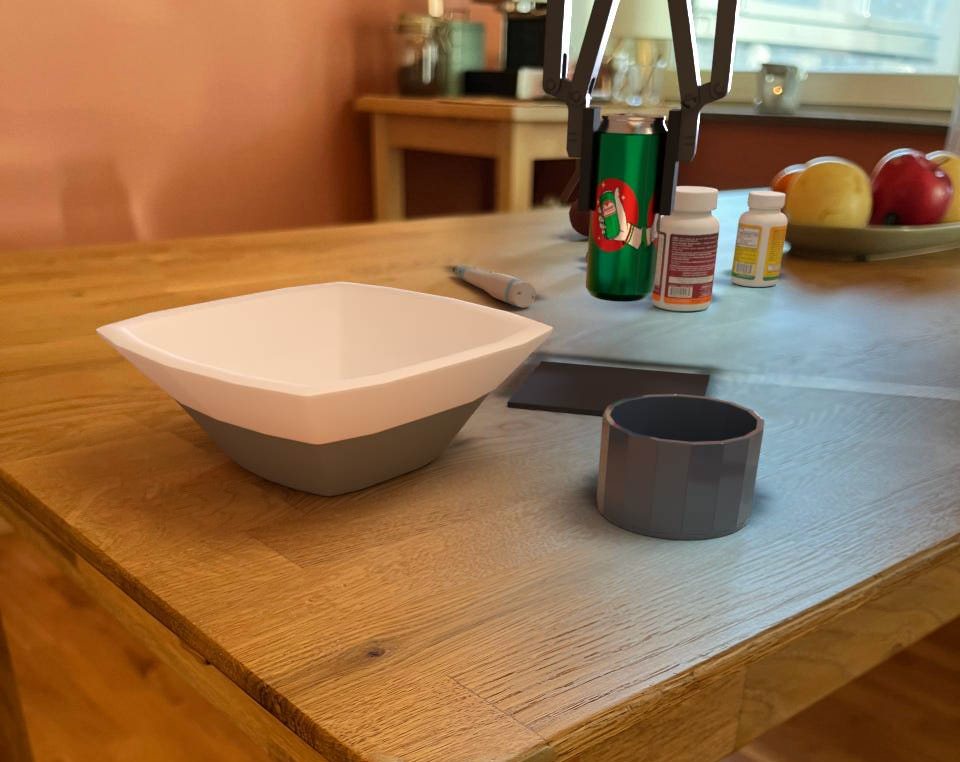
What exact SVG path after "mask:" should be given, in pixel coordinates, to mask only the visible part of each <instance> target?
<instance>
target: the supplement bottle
mask: <svg viewBox="0 0 960 762" xmlns="http://www.w3.org/2000/svg"><path fill="white" fill-rule="evenodd" d="M746 203H747V207H748V210H746V211H744V212H743V213H741V214H740V216H739V218H738V223H737V229H736V237H735V244H734V245H735V246H734V253H733V259H732V265H731V274H730V280H731V282H732V283H733V284H735V285H738V286H743V287H749V288H750V287H751V288H767V287H773V286H775V285H777V284H778V282H779V277H780V272H781V266H782V259H783V254H784V253H783V252H784V246H785V241H786V235H787V229H788V217H787V215H785V214H784V213H783V212H781V211H782V209H784V206H785V205H786V193H784V192H781V191H772V190H771V191H770V190H754V191H749V193H748V197H747V202H746Z"/></svg>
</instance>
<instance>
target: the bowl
mask: <svg viewBox="0 0 960 762" xmlns="http://www.w3.org/2000/svg"><path fill="white" fill-rule="evenodd" d="M95 331H96V334H97V336H98V337H100V338H101V339H102V340H103V341H104V342H105V343H107V345H109V346H110V347H112V348H113V349H114V350H115V352H117V353H119V354H120V355H121V356H122V357H123V358H124V359H125V360H126V361H128V362H129V363H130V364H131V365H133V366H134V367H135V368H136V369H137V370H139V372H141V373H142V374H143V375H144V376H145V377H147V378H148V379H149V380H150V381H151V382H153V384H155V385H156V386H157V387H158V388H160V390H162V391H163V392H165V394H167V395H169V396H170V397H171V398H172V399H173V400H175V402H176V403H177V404H178V405H179V406H180V407H181V408H182V410H184V411H185V412H186V414H188V415H189V417H190V418H192V420H193V421H194V422H195V423H196V424H197V425H198V426H199V427H200V428H201V429H202V431H204V432H205V433H206V435H208V437H210V439H211V440H212V441H213V442H214V443H215V444H216V445H217V446H218V447H219V448H220V449H221V450H222V451H223V452H224V453H225V455H227V457H228V458H229V459H231V460H232V461H234V462H235V463H236V464H237V465H238V466H240V467H241V468H242V469H244V470H246V471H248V472H250V473H252V474H254V475H256V476H258V477H260V478H263V479H265V480H266V481H269V482H272V483H275V484H277V485H280V486H283V487H287V488H290V489H292V490H296V491H299V492H303V493H308V494H313V495H317V496H321V497H334V496H335V497H336V496H339V495H342V494H347V493H353V492H357V491H361V490H363V489H366V488H369V487H372V486H374V485H377V484H381V483H383V482H386V481H389V480H391V479H394V478H397V477H400V476H402V475H405V474H408V473H409V472H412V471H415V470H418V469H420V468H423V467H424V466H426V465H428V464H429V463H431V462H432V461H434V460H436V459H438V458H439V457H440V456H441V455H442V454H443V453H444V451H445V450H446V449H447V448H448V446H449V445H450V443H451V442H452V441H453V440H454V439H455V438H456V436H457V435H458V434H459V432H460V431H461V430H462V428H464V426H465V424H466V423H468V421H469V420H470V419H471V417H472V416H473V415H474V414H475V412H476V411H477V410H478V408H479V407H480V406H481V404H482V403H483V402H484V401H485V399H486V398H487V397H488V396H489V395H490V393H491V392H492V391H495V390H496V389H497V388H498V387H499V386H501V384H502V383H503V382H504V381H505V380H506V379H508V377H510V375H511V374H512V373H513V372H515V370H516V369H517V368H518V367H519V366H520V365H522V363H524V361H525V360H526V359H527V358H529V356H530V355H532V354H533V352H534V351H536V350H537V349H538V347H540V345H542V344H543V342H545V341H546V339H548V337H550V336H551V335H552V334H553V332H554V327H553V326H551V325H548V324H547V323H543V322H540V321H537V320H534V319H532V318H528V317H525V316H522V315H519V314H518V313H517V314H516V313H513V312H510V311H506V310H501V309H499V308H494V307H490V306H487V305H481V304H478V303H474V302H470V301H466V300H462V299H457V298H453V297H450V296H449V297H448V296H443V295H438V294H430V293H425V292H419V291H415V290H409V289H408V290H407V289H402V288H397V287H390V286H382V285H374V284H366V283H358V282H349V281H331V282H324V283H315V284H306V285H297V286H289V287H283V288H277V289H272V290H266V291H261V292H253V293H250V294H244V295H243V294H242V295H237V296H232V297H226V298H222V299H216V300H210V301H206V302H205V301H204V302H201V303H195V304H190V305H185V306H180V307H175V308H174V307H173V308H169V309H162V310H158V311H157V310H156V311H153V312H147V313H144V314H141V315H138V316H134V317H130V318H127V319H126V318H125V319H123V320H120V321H119V320H118V321H116V322H112V323H108V324H105V325H102V326H100V327H97V328H96V329H95Z"/></svg>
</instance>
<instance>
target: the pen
mask: <svg viewBox="0 0 960 762" xmlns="http://www.w3.org/2000/svg"><path fill="white" fill-rule="evenodd" d="M452 272H453V273H454V274H455V276H456V277H457V278H459V279H461V280H462V281H464V282H466V283H468V284H470V285H472V286H475V287H477V288H479V289H481V290H483V291H484V292H486V293H487V294H488V295H490V296H491V297H492V298H495V299H497V300H499V301H501V302H504V303H506V304H509V305H511V306H513V307H517V308H518V307H520V308H527V307H530V306H531V305H532V304H533V303H534V301H535V299H536V294H537V293H536V288H535V287H534V285H532V284H531V283H530V282H527V281H526V280H524V279H520V278H517V277H515V276H512V275H510V274H509V275H508V274H505V273H502V272H494V271H492V270H489V271H488V270H487V271H486V270H482V269H480V268H477V267H475V266H474V267H471V266H467V265H465V266H464V265H458V266H457V265H456V266H454V267H452Z"/></svg>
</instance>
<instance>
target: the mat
mask: <svg viewBox="0 0 960 762" xmlns="http://www.w3.org/2000/svg"><path fill="white" fill-rule="evenodd" d="M709 381H710V374H702V373H689V372H679V371H666V370H665V371H664V370H654V369H642V368H631V367H619V366H608V365H607V366H606V365H593V364H583V363H582V364H581V363H571V362H558V361H547V360H541V361H540V362H539V364H538V365H537V366H536V367H535V368H534V370H533V371H532V372H531V373H530V374H529V375H528V376H527V378H526V379H525V380H524V381H523V383H521V385H520V386H519V387H518V389H517V390H516V391H515V392H514V393H513V394H512V396H511V397H510V398H509V399H508V401H507V403H506V406H507V407H508V408H514V409H515V408H517V409H524V410H525V409H527V410H537V411H548V412H558V413H569V414H578V415H591V416H601V417H603V414H604V412H605V410H606V408H607V406H609V405H611V404H613V403H615V402H617V401H620V400H622V399H625V398H631V397H637V396H643V395H655V394H682V395H694V396H705V395H706V391H707V388H708V385H709Z"/></svg>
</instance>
